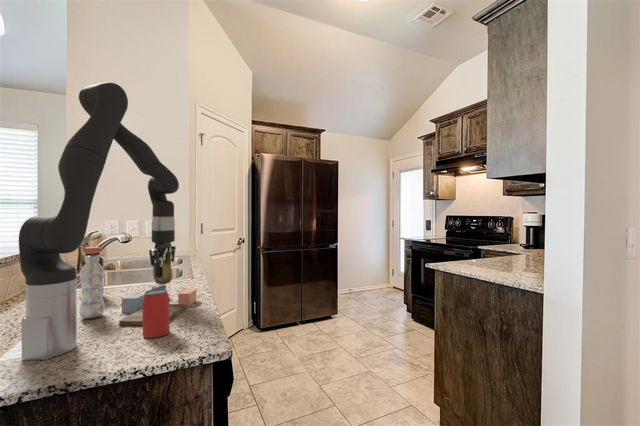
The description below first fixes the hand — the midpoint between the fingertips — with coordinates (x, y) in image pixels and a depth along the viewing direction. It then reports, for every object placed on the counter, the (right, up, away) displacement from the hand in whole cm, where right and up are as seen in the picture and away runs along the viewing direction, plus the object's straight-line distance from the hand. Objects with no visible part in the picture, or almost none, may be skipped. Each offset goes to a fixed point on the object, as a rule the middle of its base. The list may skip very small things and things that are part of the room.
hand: (163, 275), depth 108 cm
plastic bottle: (-16, -11, -12) cm, 23 cm away
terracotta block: (+8, -11, +2) cm, 14 cm away
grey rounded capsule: (-6, -11, +8) cm, 15 cm away
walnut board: (+4, -11, -12) cm, 16 cm away
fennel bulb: (0, -3, 0) cm, 3 cm away
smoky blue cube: (-7, -11, -6) cm, 14 cm away
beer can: (+12, -11, -26) cm, 30 cm away
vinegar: (-33, -11, +10) cm, 36 cm away
